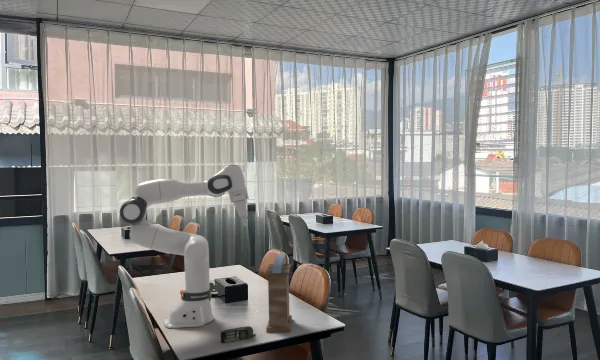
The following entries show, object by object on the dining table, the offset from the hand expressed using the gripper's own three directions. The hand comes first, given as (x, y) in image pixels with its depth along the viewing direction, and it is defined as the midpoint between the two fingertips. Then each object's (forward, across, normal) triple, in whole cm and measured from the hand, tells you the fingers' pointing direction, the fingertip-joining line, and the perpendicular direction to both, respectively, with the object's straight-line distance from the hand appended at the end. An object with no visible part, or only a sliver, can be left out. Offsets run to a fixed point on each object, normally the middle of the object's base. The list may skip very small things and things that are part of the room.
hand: (245, 225), depth 217 cm
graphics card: (+34, -47, -28) cm, 64 cm away
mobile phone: (+45, +25, -13) cm, 53 cm away
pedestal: (+47, +12, +5) cm, 49 cm away
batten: (+21, +12, +11) cm, 26 cm away
